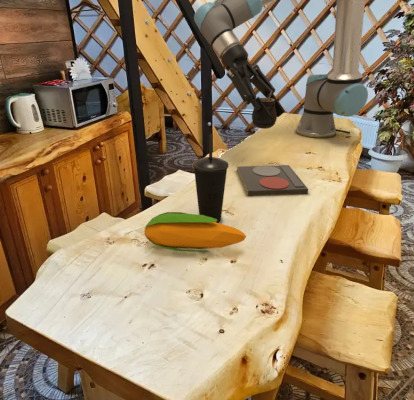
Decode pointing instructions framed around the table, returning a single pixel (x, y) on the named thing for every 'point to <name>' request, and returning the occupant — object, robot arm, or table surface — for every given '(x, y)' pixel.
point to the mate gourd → (271, 108)
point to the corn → (190, 232)
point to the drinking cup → (210, 184)
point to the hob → (270, 180)
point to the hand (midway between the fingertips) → (274, 116)
